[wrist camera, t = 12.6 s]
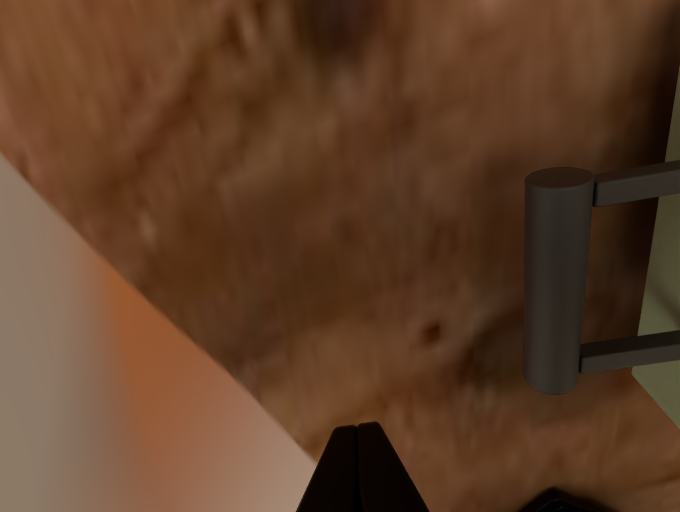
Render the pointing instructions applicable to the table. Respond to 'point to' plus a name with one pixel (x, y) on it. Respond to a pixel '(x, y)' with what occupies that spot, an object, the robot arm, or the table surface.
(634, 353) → the drawer
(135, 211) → the table surface
